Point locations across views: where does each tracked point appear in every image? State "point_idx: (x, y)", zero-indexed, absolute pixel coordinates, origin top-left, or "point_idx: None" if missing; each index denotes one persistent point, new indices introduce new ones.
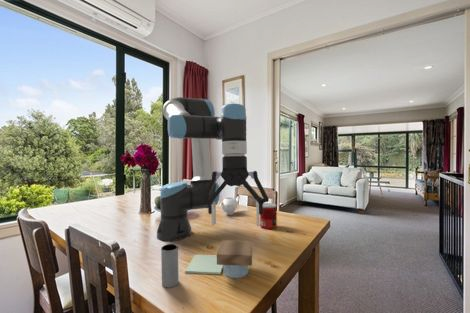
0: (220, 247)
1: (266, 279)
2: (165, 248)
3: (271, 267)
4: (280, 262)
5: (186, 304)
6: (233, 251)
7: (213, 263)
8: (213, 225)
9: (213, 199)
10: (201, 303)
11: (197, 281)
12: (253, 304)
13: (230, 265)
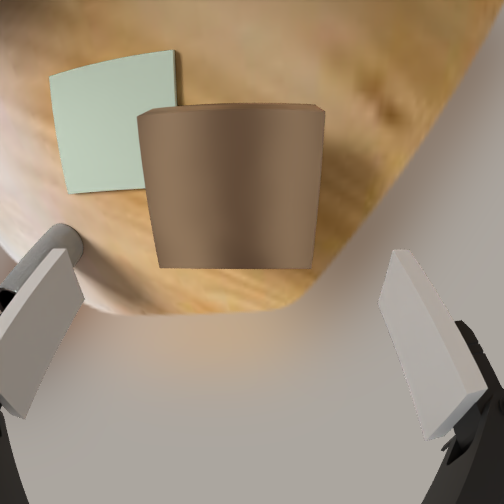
0: (152, 205)
1: (348, 200)
2: (3, 293)
3: (378, 124)
4: (416, 89)
5: (145, 306)
6: (226, 240)
7: (136, 127)
8: (79, 298)
9: (6, 448)
10: (175, 302)
11: (125, 228)
12: (297, 298)
13: None
